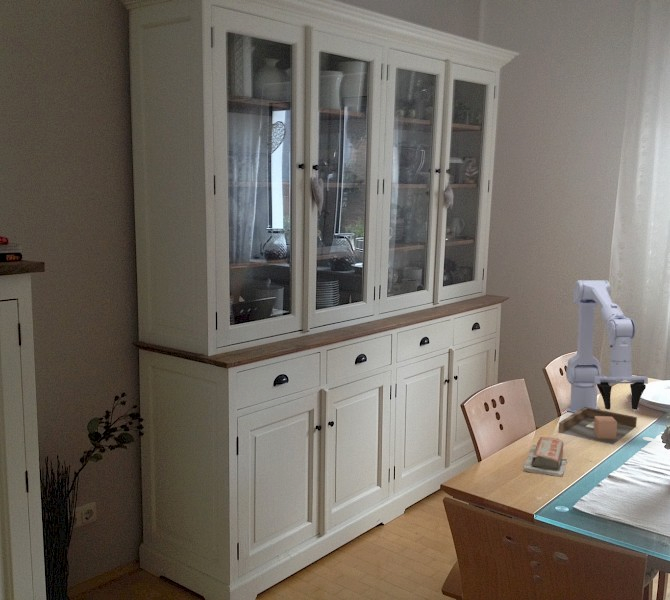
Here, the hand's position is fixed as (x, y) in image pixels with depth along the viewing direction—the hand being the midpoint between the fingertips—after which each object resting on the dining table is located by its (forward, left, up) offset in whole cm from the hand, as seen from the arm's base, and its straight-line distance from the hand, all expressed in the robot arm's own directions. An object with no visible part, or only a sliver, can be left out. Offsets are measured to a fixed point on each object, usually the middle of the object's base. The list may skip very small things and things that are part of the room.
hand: (621, 409), depth 207 cm
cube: (-2, -5, -10) cm, 11 cm away
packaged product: (+26, -10, -11) cm, 30 cm away
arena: (-6, -8, -11) cm, 15 cm away
